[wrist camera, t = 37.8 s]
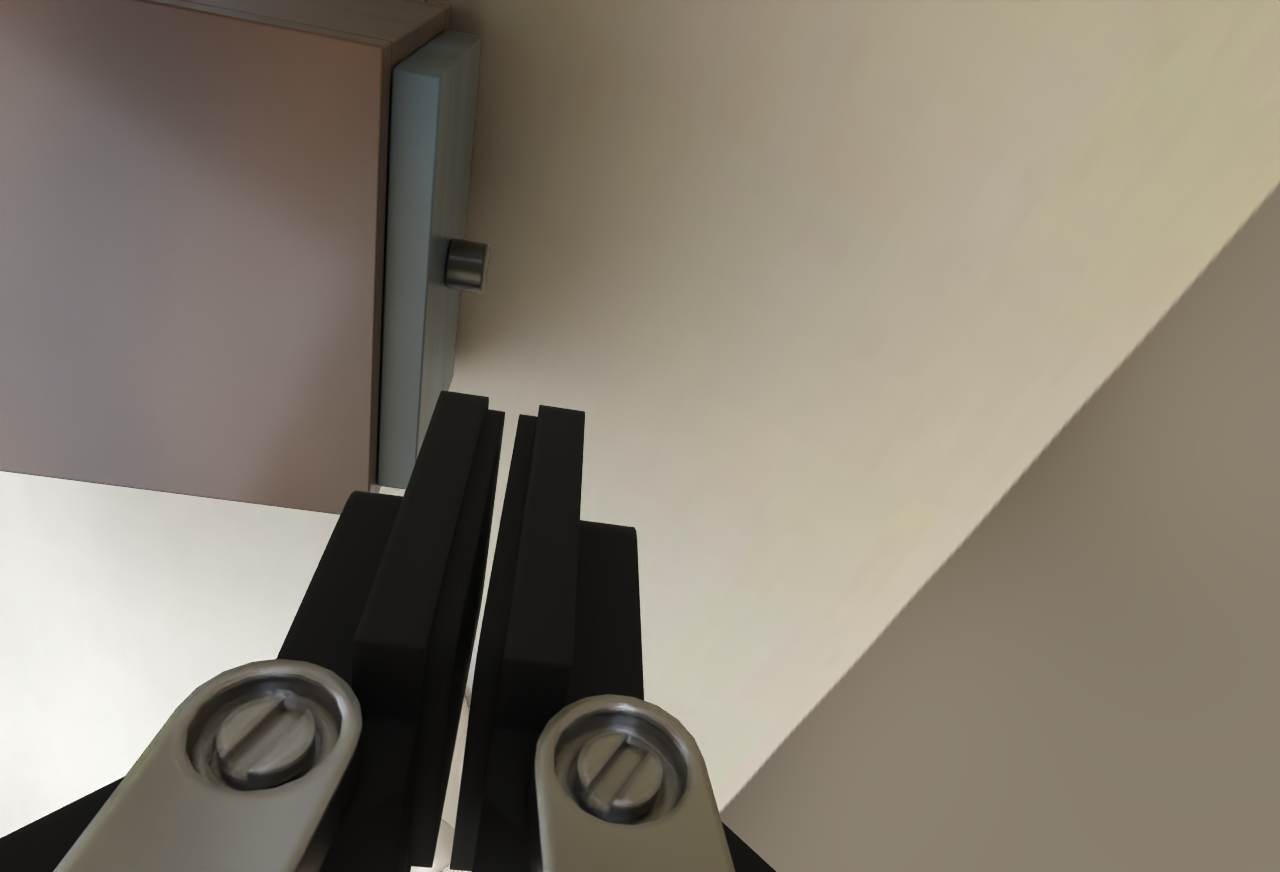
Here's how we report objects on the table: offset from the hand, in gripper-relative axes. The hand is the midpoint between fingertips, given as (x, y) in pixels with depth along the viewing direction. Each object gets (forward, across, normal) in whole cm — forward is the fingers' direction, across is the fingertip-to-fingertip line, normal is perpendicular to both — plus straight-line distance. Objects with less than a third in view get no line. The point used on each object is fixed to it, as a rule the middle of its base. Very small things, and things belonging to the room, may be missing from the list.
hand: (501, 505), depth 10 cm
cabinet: (+23, +11, +4) cm, 26 cm away
